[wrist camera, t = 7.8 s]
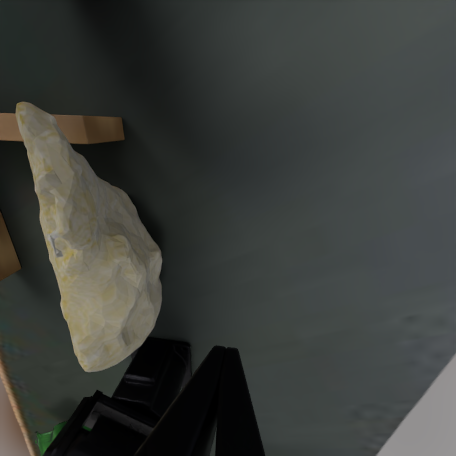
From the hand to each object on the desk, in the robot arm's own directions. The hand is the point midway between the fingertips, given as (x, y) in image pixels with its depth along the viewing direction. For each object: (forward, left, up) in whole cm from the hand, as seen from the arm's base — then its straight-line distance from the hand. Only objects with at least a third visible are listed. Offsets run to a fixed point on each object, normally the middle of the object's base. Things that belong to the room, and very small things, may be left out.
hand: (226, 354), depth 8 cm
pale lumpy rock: (0, +11, -12) cm, 16 cm away
